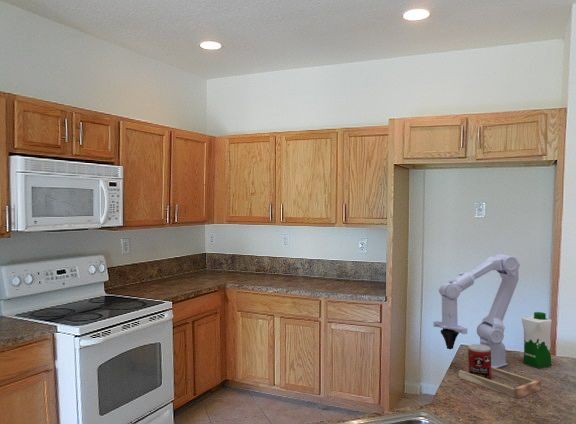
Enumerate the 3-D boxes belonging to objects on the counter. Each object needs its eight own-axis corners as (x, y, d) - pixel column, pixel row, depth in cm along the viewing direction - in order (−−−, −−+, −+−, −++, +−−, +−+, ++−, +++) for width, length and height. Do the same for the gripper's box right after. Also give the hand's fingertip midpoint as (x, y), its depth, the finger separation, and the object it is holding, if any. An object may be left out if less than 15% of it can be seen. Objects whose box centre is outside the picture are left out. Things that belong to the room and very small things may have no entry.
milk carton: (555, 366, 176) (554, 314, 176) (539, 369, 173) (538, 317, 173) (534, 359, 184) (533, 310, 184) (519, 363, 181) (518, 312, 181)
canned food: (467, 379, 164) (466, 348, 164) (469, 372, 172) (469, 343, 172) (490, 382, 161) (490, 351, 161) (492, 375, 168) (491, 345, 168)
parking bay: (481, 370, 173) (481, 362, 173) (541, 389, 154) (541, 380, 154) (458, 377, 166) (458, 369, 166) (518, 398, 147) (517, 389, 147)
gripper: (427, 311, 181) (428, 345, 181) (458, 318, 169) (459, 355, 169) (439, 309, 185) (440, 342, 185) (470, 316, 173) (471, 351, 173)
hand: (450, 348), depth 177 cm, fingers closed
